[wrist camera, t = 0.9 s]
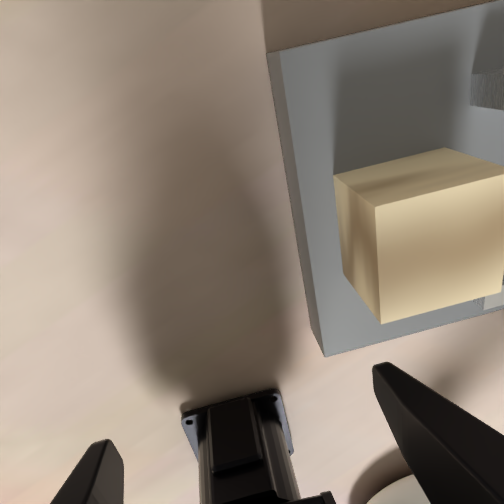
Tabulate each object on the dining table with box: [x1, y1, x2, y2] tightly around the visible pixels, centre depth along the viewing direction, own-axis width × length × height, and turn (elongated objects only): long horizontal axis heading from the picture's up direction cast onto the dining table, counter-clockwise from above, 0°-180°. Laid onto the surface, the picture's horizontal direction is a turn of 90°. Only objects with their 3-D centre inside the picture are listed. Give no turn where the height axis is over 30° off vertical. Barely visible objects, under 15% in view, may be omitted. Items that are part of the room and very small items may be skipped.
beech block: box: [333, 147, 504, 324], centre depth 15 cm, size 5×5×4 cm
